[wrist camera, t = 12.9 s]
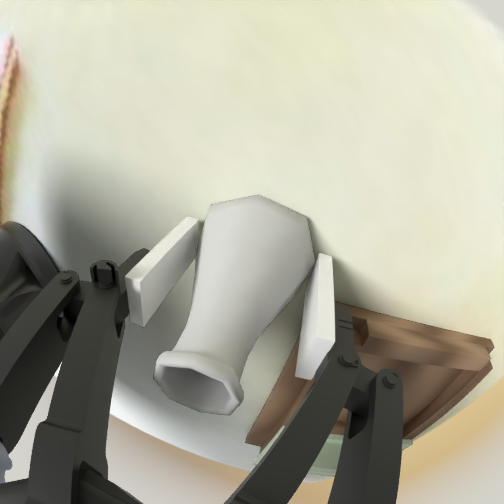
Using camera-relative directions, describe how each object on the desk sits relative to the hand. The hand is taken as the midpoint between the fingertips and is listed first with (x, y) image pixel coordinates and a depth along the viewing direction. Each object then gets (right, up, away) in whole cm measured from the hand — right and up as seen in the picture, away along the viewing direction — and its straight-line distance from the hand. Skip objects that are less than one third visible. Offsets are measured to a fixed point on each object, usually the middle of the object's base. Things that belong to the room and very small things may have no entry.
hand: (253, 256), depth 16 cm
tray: (+10, -15, +7) cm, 19 cm away
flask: (0, 0, +1) cm, 1 cm away
